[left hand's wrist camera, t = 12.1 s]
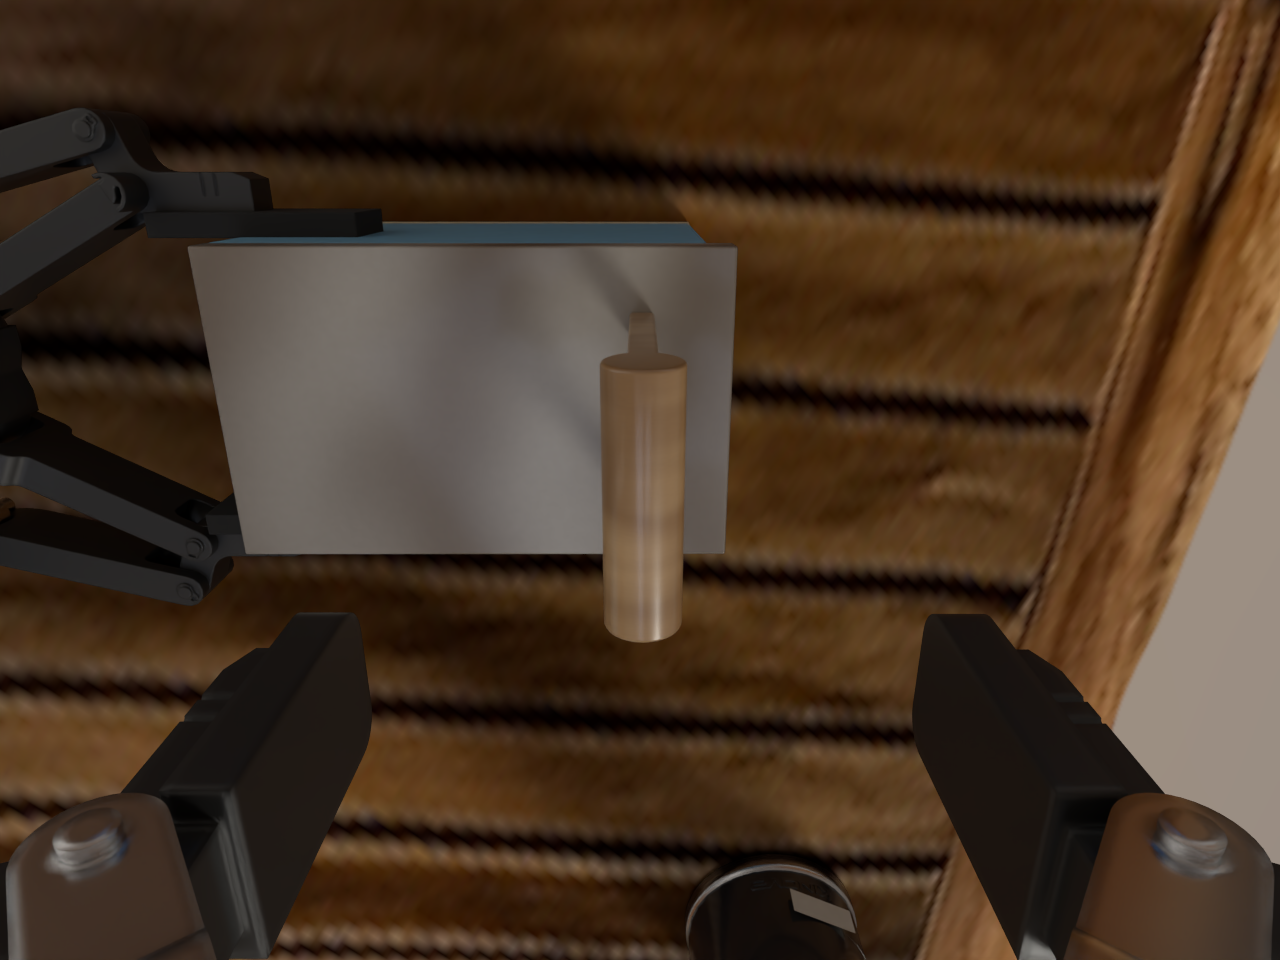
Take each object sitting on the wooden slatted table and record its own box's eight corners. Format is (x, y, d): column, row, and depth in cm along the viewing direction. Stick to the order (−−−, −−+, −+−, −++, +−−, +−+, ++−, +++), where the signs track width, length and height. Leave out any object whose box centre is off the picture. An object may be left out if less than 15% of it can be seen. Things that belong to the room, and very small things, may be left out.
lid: (733, 243, 23) (786, 282, 15) (722, 540, 27) (759, 707, 18) (204, 242, 23) (-34, 282, 15) (258, 541, 27) (88, 707, 18)
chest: (687, 221, 33) (707, 242, 23) (683, 444, 36) (699, 540, 27) (329, 221, 33) (205, 242, 23) (358, 444, 36) (259, 540, 27)
